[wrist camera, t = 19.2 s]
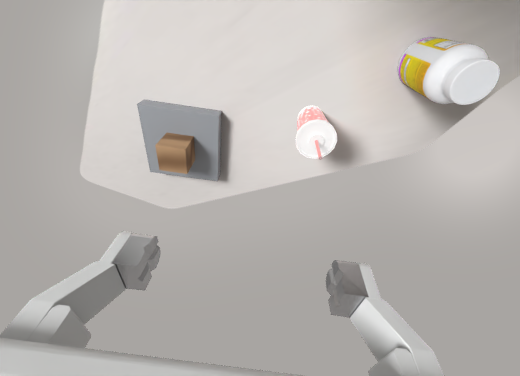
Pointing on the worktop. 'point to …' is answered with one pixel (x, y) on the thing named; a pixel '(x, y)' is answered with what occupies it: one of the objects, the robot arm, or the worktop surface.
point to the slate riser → (185, 123)
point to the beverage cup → (314, 133)
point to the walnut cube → (175, 153)
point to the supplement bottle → (448, 71)
